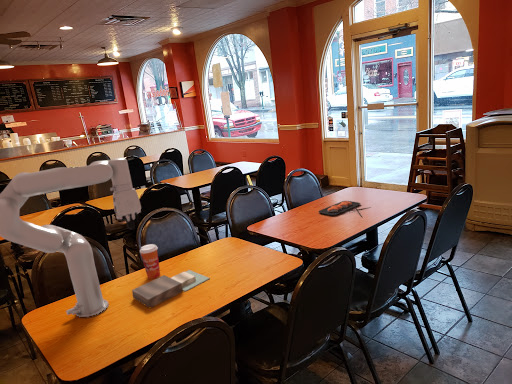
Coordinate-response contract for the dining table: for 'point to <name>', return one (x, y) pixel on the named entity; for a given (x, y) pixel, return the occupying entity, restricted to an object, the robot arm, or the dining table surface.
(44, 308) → the dining table surface
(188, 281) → the beige rectangular block
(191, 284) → the mat
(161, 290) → the grey rectangular block
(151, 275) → the coffee cup
